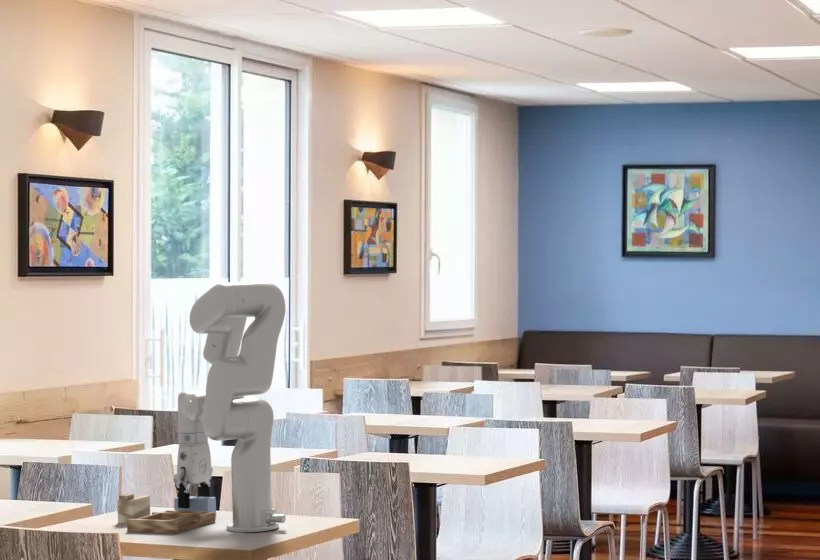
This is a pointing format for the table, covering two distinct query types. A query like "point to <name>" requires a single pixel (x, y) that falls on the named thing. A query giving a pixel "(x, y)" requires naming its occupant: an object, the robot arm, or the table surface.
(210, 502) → the bar
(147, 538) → the table surface
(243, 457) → the robot arm
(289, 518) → the table surface
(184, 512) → the tray
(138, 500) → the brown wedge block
